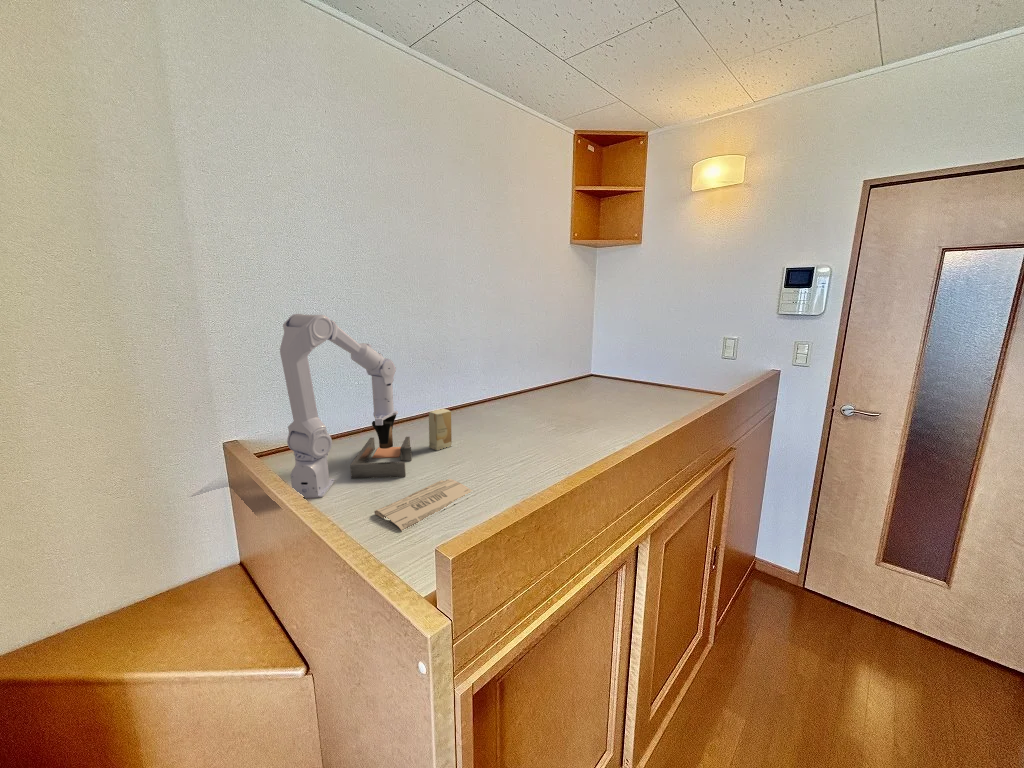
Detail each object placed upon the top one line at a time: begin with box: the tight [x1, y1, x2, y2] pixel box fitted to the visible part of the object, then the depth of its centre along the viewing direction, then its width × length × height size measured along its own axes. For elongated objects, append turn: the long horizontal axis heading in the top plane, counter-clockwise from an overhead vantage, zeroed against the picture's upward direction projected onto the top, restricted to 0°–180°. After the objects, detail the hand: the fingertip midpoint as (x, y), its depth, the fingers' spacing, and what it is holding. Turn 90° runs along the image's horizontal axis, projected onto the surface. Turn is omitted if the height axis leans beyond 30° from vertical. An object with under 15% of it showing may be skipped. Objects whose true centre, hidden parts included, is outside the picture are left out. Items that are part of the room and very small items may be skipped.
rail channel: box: [350, 436, 412, 480], centre depth 120 cm, size 22×14×4 cm, turn 5°
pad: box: [371, 446, 401, 459], centre depth 128 cm, size 8×8×1 cm
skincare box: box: [428, 408, 453, 451], centre depth 132 cm, size 6×4×12 cm
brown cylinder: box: [378, 426, 394, 449], centre depth 124 cm, size 4×4×6 cm
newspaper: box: [374, 478, 473, 532], centre depth 97 cm, size 23×12×2 cm, turn 139°
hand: (385, 440), depth 124 cm, fingers closed on brown cylinder, 4 cm apart
